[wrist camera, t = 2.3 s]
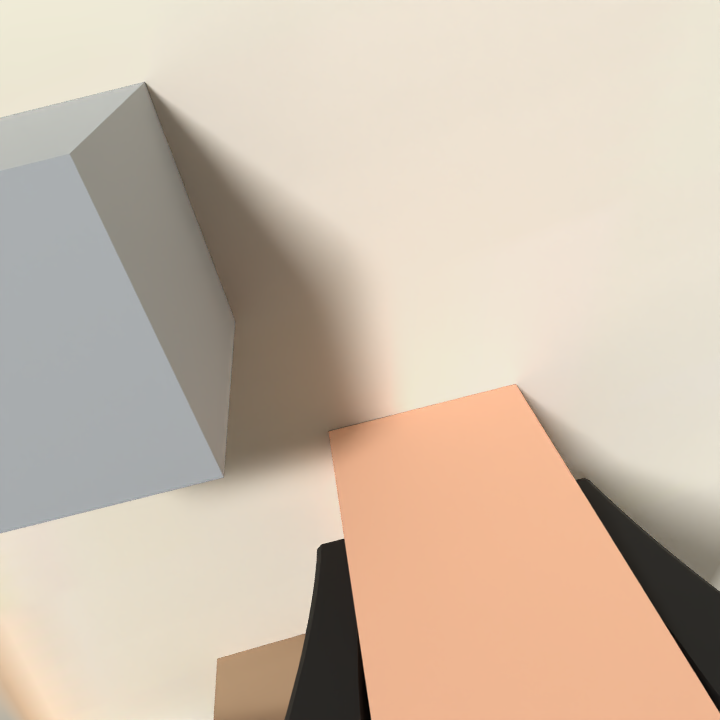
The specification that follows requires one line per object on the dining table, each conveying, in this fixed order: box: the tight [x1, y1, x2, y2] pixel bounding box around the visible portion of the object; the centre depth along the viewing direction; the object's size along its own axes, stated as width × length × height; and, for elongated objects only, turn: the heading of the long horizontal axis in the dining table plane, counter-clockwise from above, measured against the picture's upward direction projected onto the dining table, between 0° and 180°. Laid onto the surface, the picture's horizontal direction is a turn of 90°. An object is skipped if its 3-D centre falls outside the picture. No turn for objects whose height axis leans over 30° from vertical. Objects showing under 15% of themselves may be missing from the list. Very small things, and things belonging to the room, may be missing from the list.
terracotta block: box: [329, 384, 720, 720], centre depth 10 cm, size 4×4×7 cm
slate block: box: [0, 82, 235, 533], centre depth 8 cm, size 4×4×4 cm
